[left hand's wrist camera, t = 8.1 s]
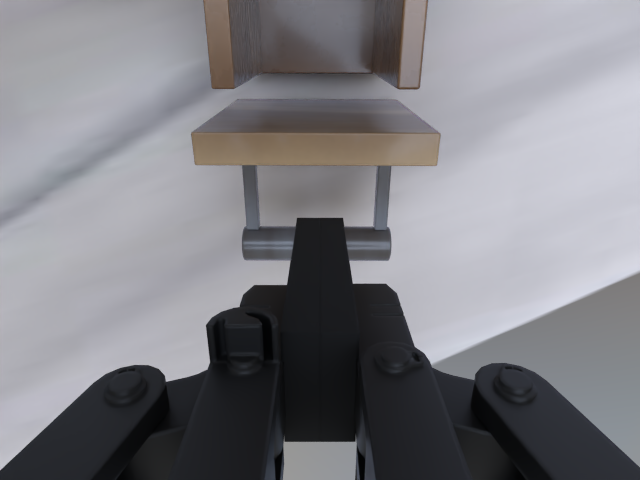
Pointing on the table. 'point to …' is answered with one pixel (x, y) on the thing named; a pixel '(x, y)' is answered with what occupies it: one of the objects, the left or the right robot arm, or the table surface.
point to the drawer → (315, 102)
